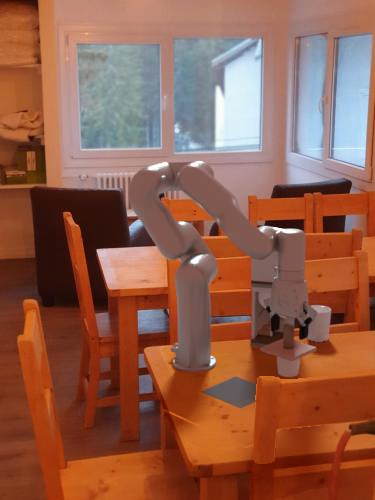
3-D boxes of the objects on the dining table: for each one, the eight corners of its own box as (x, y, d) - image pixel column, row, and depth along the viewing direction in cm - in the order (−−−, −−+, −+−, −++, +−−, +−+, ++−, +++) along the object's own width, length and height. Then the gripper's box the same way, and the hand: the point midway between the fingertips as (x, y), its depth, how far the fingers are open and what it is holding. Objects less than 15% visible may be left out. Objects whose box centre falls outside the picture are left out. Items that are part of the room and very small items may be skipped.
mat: (200, 393, 186) (200, 391, 186) (235, 377, 195) (235, 376, 195) (240, 409, 176) (240, 408, 176) (275, 392, 186) (275, 391, 185)
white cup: (304, 342, 222) (305, 312, 219) (305, 333, 229) (305, 304, 227) (330, 343, 220) (331, 313, 218) (329, 335, 228) (330, 305, 226)
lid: (260, 351, 196) (260, 325, 194) (284, 341, 203) (285, 316, 202) (292, 361, 188) (293, 334, 186) (316, 350, 196) (317, 325, 194)
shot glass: (299, 380, 193) (300, 356, 192) (274, 378, 195) (275, 354, 193) (301, 370, 200) (301, 347, 198) (276, 368, 201) (277, 345, 200)
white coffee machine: (250, 345, 219) (251, 235, 211) (258, 334, 229) (260, 229, 221) (286, 350, 215) (289, 238, 207) (293, 338, 225) (296, 231, 217)
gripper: (256, 271, 194) (256, 330, 198) (308, 283, 182) (306, 345, 186) (273, 266, 199) (272, 324, 203) (325, 277, 187) (323, 338, 191)
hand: (289, 334), depth 195 cm, fingers open, 9 cm apart
